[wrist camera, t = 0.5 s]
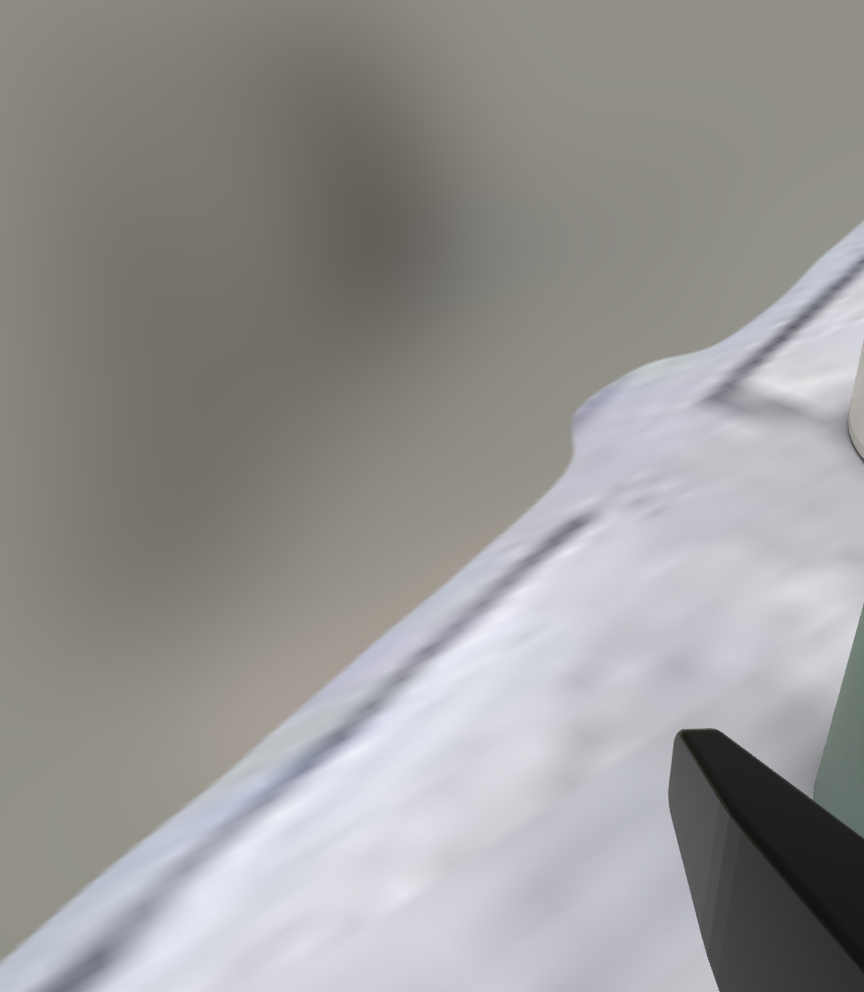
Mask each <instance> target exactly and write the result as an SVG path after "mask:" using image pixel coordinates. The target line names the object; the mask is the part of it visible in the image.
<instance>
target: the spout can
mask: <svg viewBox="0 0 864 992" xmlns="http://www.w3.org/2000/svg"><path fill="white" fill-rule="evenodd" d="M814 801H815V802H816V803H817V804H819V805H820V806H821V807H823V808H824V809H825V810H827V811H828V812H829V813H831V814H832V815H833V816H835V817H836V818H837V819H839V820H840V821H841V822H843V823H844V824H846V825H847V826H848V827H850V828H851V829H852V830H854V831H855V832H856V833H858V834H859V835H860V836H862V837H863V838H864V605H863V608H862V612H861V616H860V619H859V623H858V627H857V631H856V634H855V638H854V642H853V645H852V649H851V653H850V656H849V660H848V664H847V667H846V671H845V675H844V678H843V682H842V686H841V690H840V693H839V697H838V701H837V704H836V708H835V712H834V715H833V719H832V723H831V726H830V730H829V734H828V738H827V741H826V745H825V749H824V752H823V756H822V760H821V763H820V767H819V771H818V774H817V778H816V782H815V787H814Z"/></svg>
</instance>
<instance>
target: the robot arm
mask: <svg viewBox="0 0 864 992" xmlns="http://www.w3.org/2000/svg"><path fill="white" fill-rule="evenodd" d="M668 798H669V807H670V813H671V817H672V821H673V825H674V829H675V833H676V837H677V841H678V845H679V849H680V853H681V857H682V861H683V864H684V868H685V872H686V876H687V880H688V884H689V888H690V892H691V896H692V900H693V904H694V908H695V912H696V916H697V920H698V924H699V927H700V931H701V935H702V939H703V942H704V946H705V950H706V953H707V957H708V960H709V963H710V966H711V969H712V971H713V974H714V977H715V980H716V983H717V986H718V989H719V991H720V992H864V838H863V837H862V836H860V835H859V834H858V833H856V832H855V831H854V830H852V829H851V828H850V827H848V826H847V825H846V824H844V823H843V822H841V821H840V820H839V819H837V818H836V817H835V816H833V815H832V814H831V813H829V812H828V811H827V810H825V809H824V808H823V807H821V806H820V805H819V804H817V803H816V802H815V801H813V800H812V799H811V798H809V797H808V796H807V795H805V794H804V793H803V792H801V791H800V790H799V789H797V788H796V787H795V786H793V785H792V784H791V783H789V782H788V781H787V780H785V779H784V778H783V777H781V776H780V775H779V774H777V773H776V772H774V771H773V770H772V769H770V768H769V767H768V766H766V765H765V764H764V763H762V762H761V761H760V760H758V759H757V758H756V757H754V756H753V755H752V754H750V753H749V752H748V751H746V750H745V749H744V748H742V747H741V746H740V745H738V744H737V743H736V742H734V741H733V740H732V739H730V738H729V737H728V736H726V735H725V734H724V733H722V732H720V731H719V730H716V729H712V728H706V729H682V730H681V731H679V732H678V733H677V734H676V737H675V739H674V745H673V754H672V763H671V771H670V780H669V790H668Z"/></svg>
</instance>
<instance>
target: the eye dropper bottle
mask: <svg viewBox="0 0 864 992" xmlns="http://www.w3.org/2000/svg"><path fill="white" fill-rule="evenodd" d="M848 425H849V432H850V436H851V439H852V442H853V444H854V446H855V448H856V449H857V451H858V452H859V454H860V455H861V456H862V458H863V459H864V341H863V345H862V350H861V355H860V360H859V365H858V370H857V375H856V379H855V384H854V389H853V394H852V399H851V404H850V409H849V417H848Z"/></svg>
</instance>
